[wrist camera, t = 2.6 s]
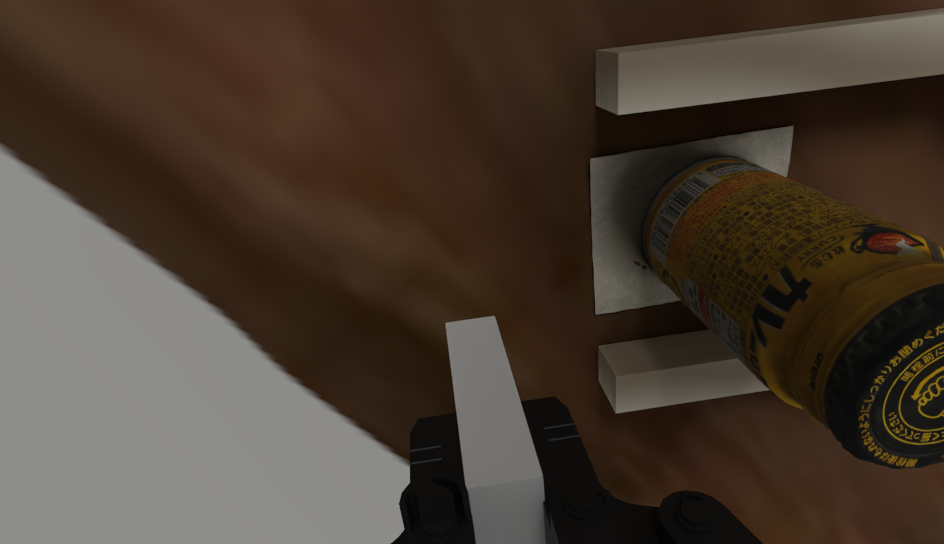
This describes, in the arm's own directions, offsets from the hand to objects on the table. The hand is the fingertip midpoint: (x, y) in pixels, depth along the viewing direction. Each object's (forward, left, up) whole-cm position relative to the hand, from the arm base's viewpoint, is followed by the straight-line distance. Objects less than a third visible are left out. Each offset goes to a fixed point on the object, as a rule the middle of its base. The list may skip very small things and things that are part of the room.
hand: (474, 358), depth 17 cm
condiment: (0, +10, -8) cm, 13 cm away
